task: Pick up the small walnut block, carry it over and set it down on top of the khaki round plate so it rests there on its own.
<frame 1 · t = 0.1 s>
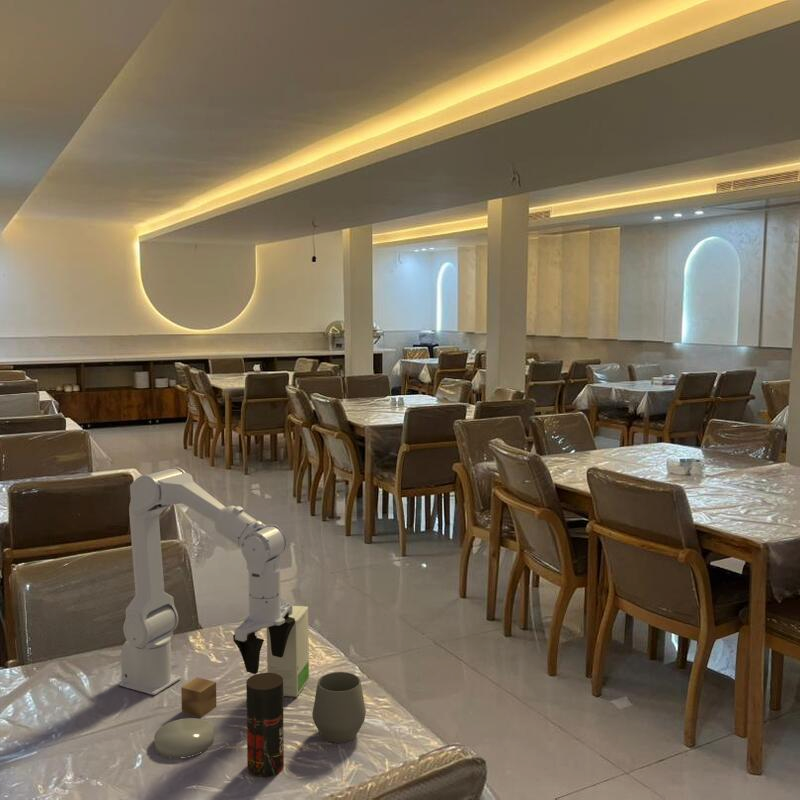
hand: (265, 663, 145), 10 cm above the table, tool pointing down, fingers open, 7 cm apart
skincare box: (288, 687, 157), on the table
walnut block: (199, 709, 148), on the table
khaki round plate: (184, 743, 137), on the table
cup: (339, 735, 140), on the table
deodorant: (265, 768, 130), on the table
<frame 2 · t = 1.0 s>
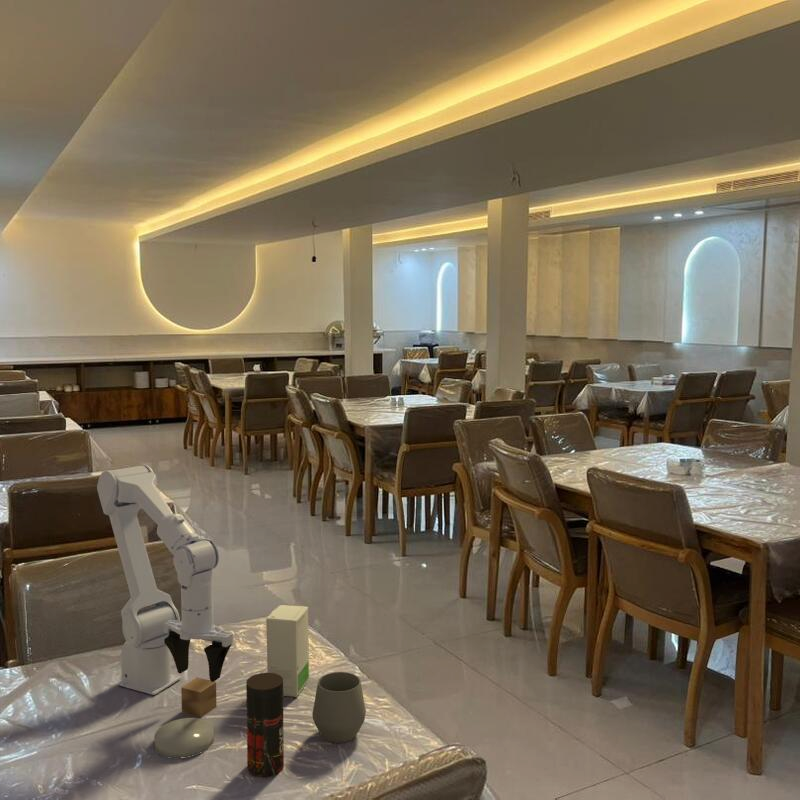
hand: (198, 675, 147), 7 cm above the table, tool pointing down, fingers open, 7 cm apart
nothing on the table moved.
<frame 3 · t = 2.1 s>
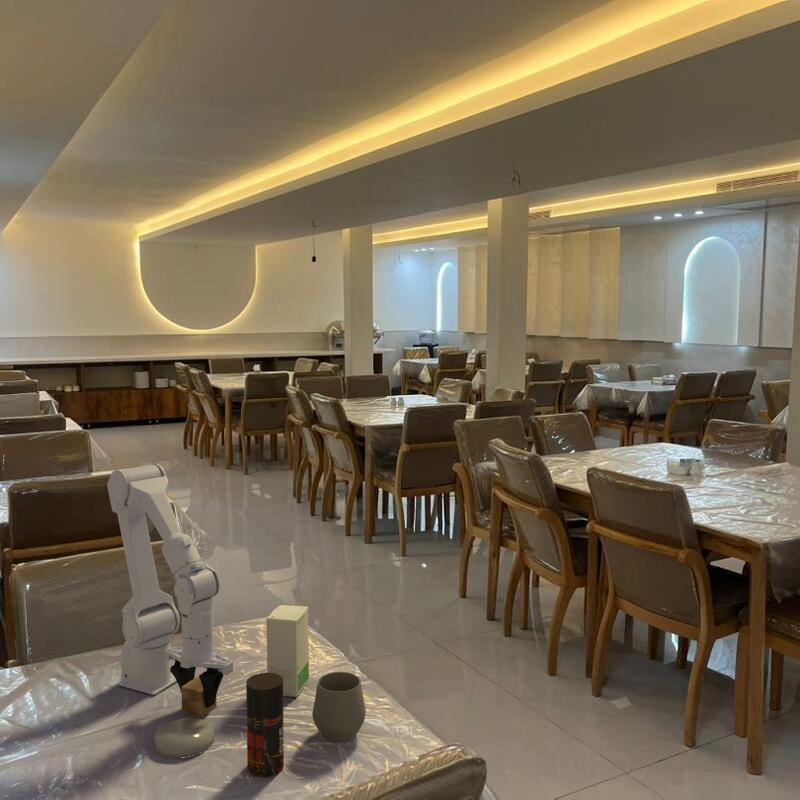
hand: (199, 702, 148), 1 cm above the table, tool pointing down, fingers closed on walnut block, 4 cm apart
walnut block: (199, 709, 148), on the table, touching gripper
everything else where it was.
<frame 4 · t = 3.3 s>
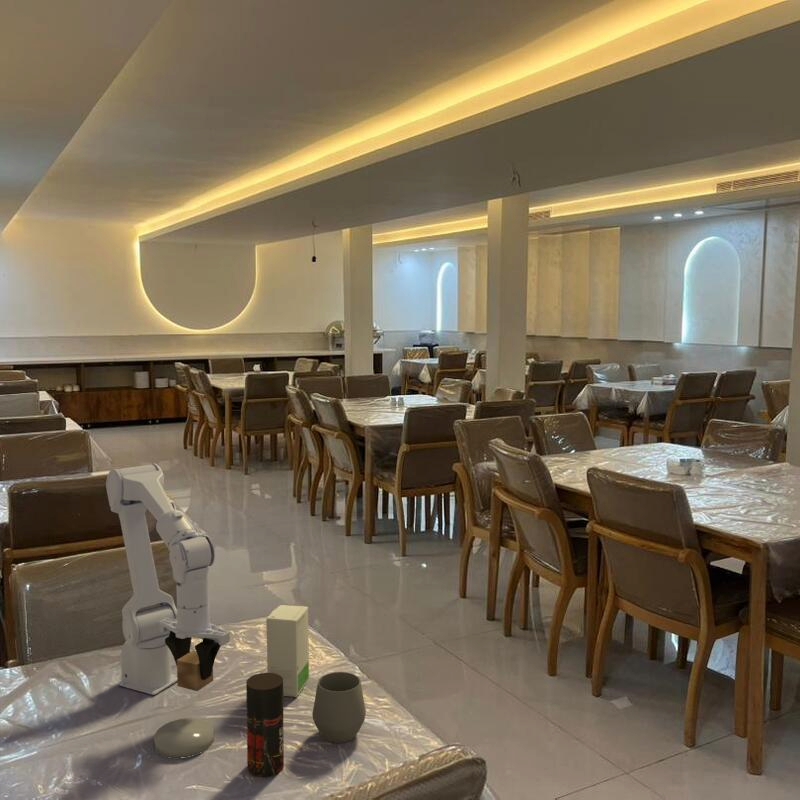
hand: (194, 674, 144), 9 cm above the table, tool pointing down, fingers closed on walnut block, 4 cm apart
walnut block: (195, 683, 144), point 7 cm above the table, touching gripper
everything else where it was.
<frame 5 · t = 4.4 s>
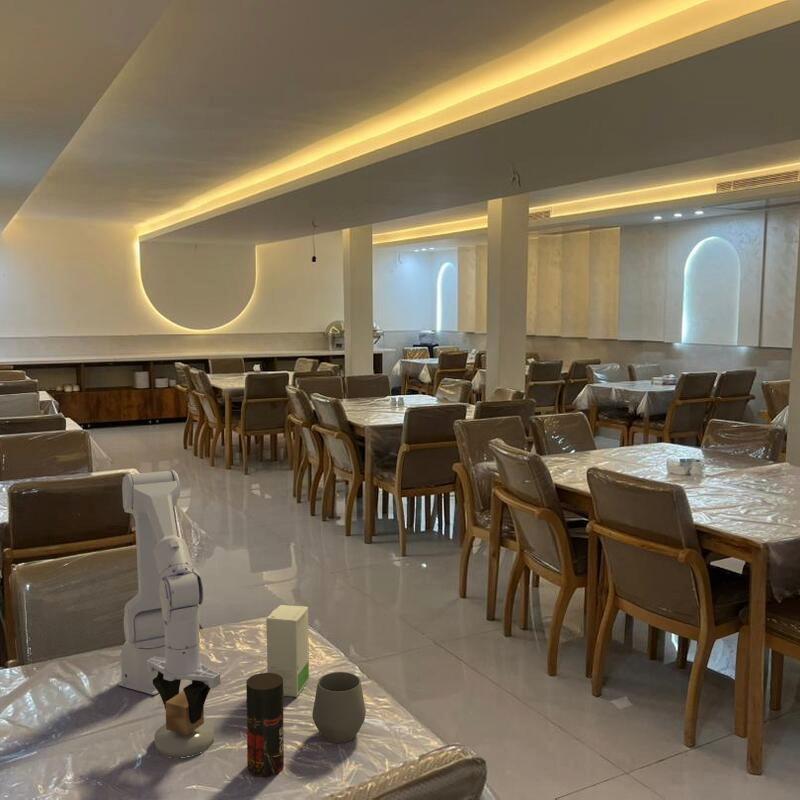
hand: (184, 717, 137), 5 cm above the table, tool pointing down, fingers closed on walnut block, 4 cm apart
walnut block: (185, 726, 137), point 3 cm above the table, touching gripper
everything else where it was.
when the fingers open (4 cm above the table, at t = 4.9 s): walnut block drops 1 cm, resting on khaki round plate.
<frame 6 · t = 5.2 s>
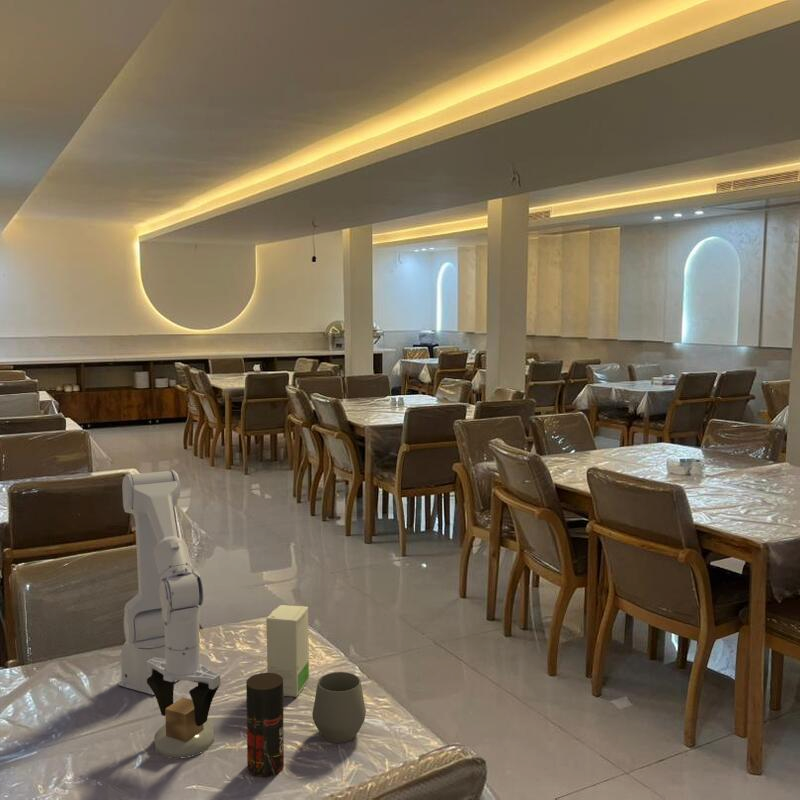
hand: (184, 718, 137), 4 cm above the table, tool pointing down, fingers open, 7 cm apart
walnut block: (184, 732, 137), point 2 cm above the table, touching khaki round plate
khaki round plate: (184, 744, 137), on the table, touching walnut block
everything else where it was.
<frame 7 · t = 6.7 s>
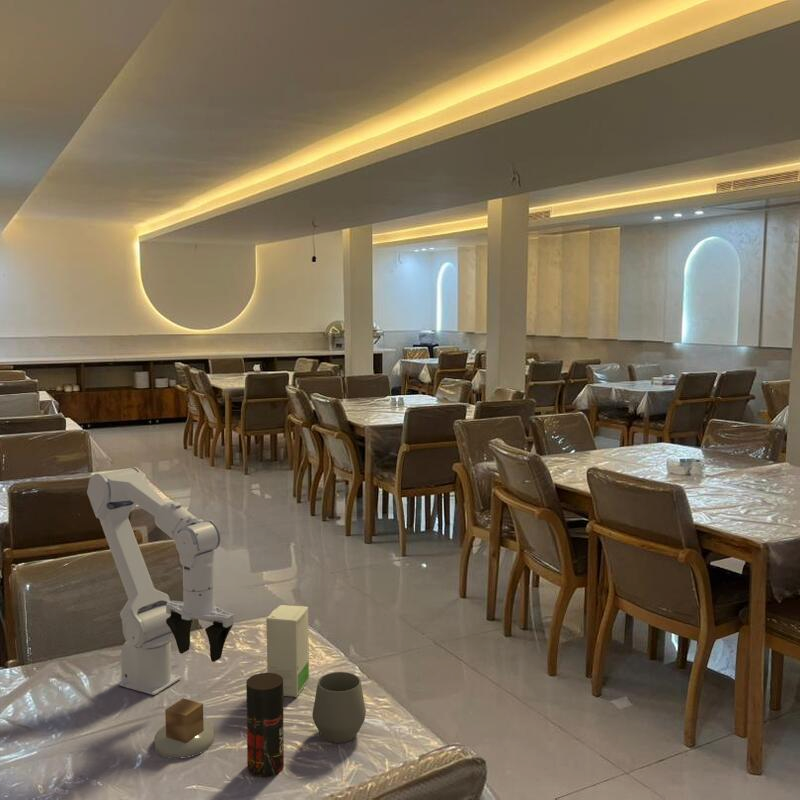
hand: (200, 655, 149), 10 cm above the table, tool pointing down, fingers open, 7 cm apart
nothing on the table moved.
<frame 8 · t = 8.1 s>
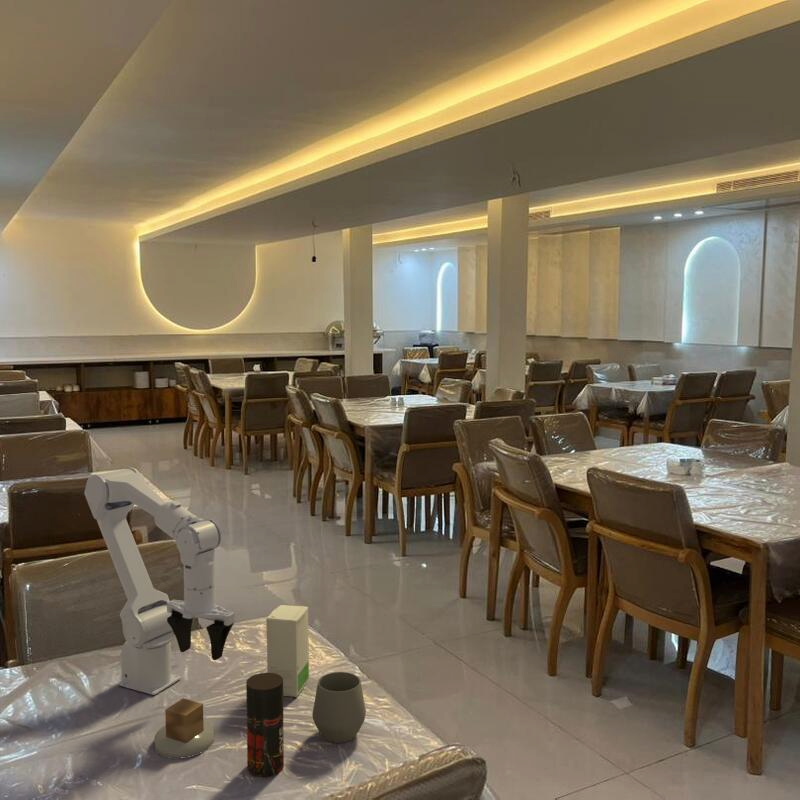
hand: (201, 654, 149), 10 cm above the table, tool pointing down, fingers open, 7 cm apart
nothing on the table moved.
at the end: walnut block 0.2 cm off-centre on the khaki round plate, point 2.0 cm above the khaki round plate's base; walnut block tilted 0°; the gripper is holding nothing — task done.
